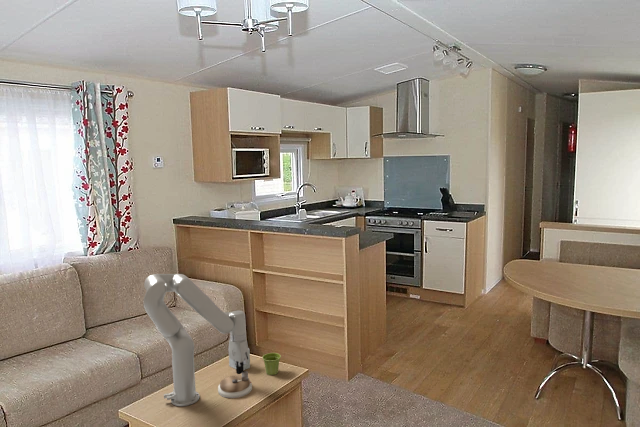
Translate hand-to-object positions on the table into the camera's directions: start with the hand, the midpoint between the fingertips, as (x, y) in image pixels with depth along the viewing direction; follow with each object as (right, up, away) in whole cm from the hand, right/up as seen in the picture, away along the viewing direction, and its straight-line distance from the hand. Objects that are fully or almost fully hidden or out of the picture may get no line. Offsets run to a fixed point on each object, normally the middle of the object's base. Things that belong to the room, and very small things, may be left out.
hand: (240, 372), depth 227 cm
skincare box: (-4, -4, +21) cm, 22 cm away
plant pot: (+14, -5, +13) cm, 20 cm away
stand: (-2, -7, -4) cm, 8 cm away
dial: (-2, -4, -4) cm, 6 cm away
